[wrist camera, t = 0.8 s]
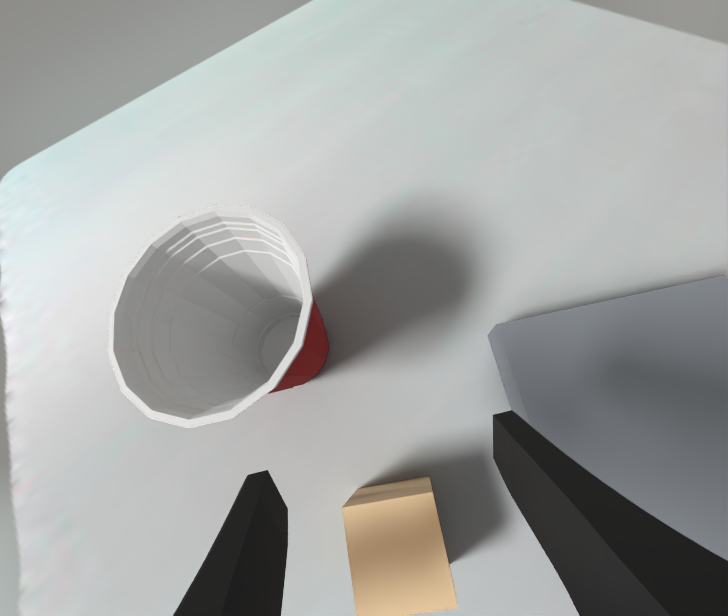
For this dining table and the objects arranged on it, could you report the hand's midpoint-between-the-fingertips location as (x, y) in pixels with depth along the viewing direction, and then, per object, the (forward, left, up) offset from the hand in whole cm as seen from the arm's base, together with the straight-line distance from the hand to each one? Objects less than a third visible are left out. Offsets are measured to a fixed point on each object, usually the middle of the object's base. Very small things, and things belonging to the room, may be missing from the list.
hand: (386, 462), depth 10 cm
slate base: (-1, -15, -13) cm, 20 cm away
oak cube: (-5, +1, -14) cm, 15 cm away
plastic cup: (+8, +7, -14) cm, 17 cm away
